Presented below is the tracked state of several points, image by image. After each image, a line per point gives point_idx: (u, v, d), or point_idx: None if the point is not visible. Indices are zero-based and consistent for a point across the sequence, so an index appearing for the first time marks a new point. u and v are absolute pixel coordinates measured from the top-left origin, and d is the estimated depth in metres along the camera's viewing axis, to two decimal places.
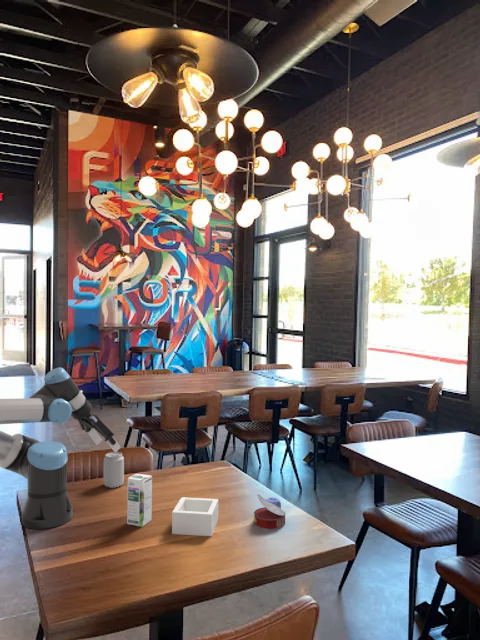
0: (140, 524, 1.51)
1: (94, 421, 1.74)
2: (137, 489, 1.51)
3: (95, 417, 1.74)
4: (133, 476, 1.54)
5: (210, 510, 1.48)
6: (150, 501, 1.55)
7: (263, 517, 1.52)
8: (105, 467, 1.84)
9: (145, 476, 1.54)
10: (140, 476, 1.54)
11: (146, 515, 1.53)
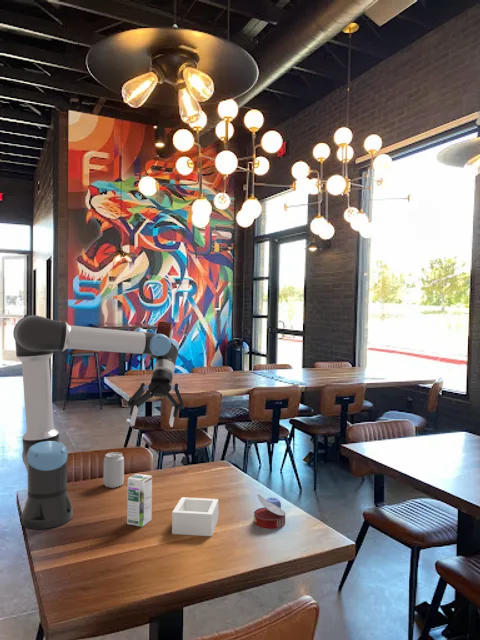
0: (140, 524, 1.51)
1: (178, 387, 1.76)
2: (137, 489, 1.51)
3: (178, 387, 1.78)
4: (133, 476, 1.54)
5: (210, 510, 1.48)
6: (150, 501, 1.55)
7: (263, 517, 1.52)
8: (105, 467, 1.84)
9: (145, 476, 1.54)
10: (140, 476, 1.54)
11: (146, 515, 1.53)
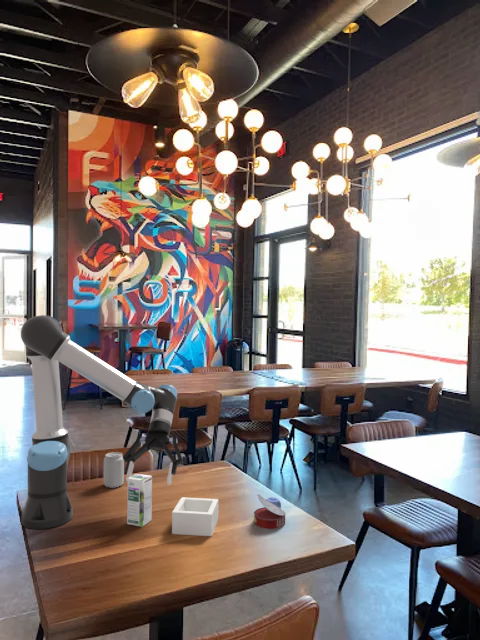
0: (140, 524, 1.51)
1: (176, 440, 1.67)
2: (137, 489, 1.51)
3: None
4: (133, 476, 1.54)
5: (210, 510, 1.48)
6: (150, 501, 1.55)
7: (263, 517, 1.52)
8: (105, 467, 1.84)
9: (145, 476, 1.54)
10: (140, 476, 1.54)
11: (146, 515, 1.53)
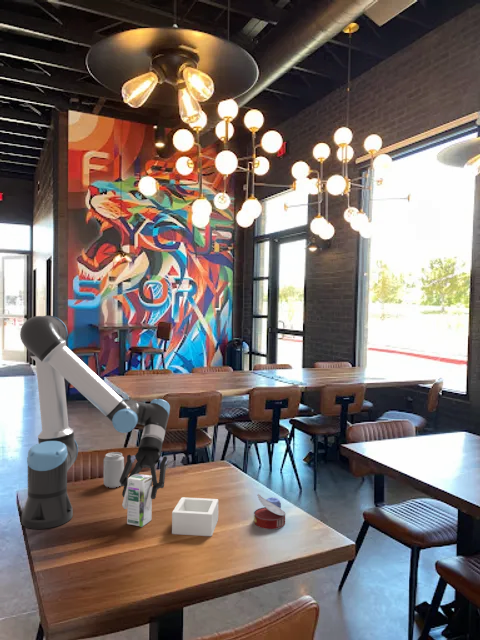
0: (140, 524, 1.51)
1: (166, 461, 1.60)
2: (137, 489, 1.51)
3: (167, 460, 1.62)
4: (133, 476, 1.54)
5: (210, 510, 1.48)
6: None
7: (263, 517, 1.52)
8: (105, 467, 1.84)
9: (145, 476, 1.54)
10: (140, 476, 1.54)
11: (146, 515, 1.52)
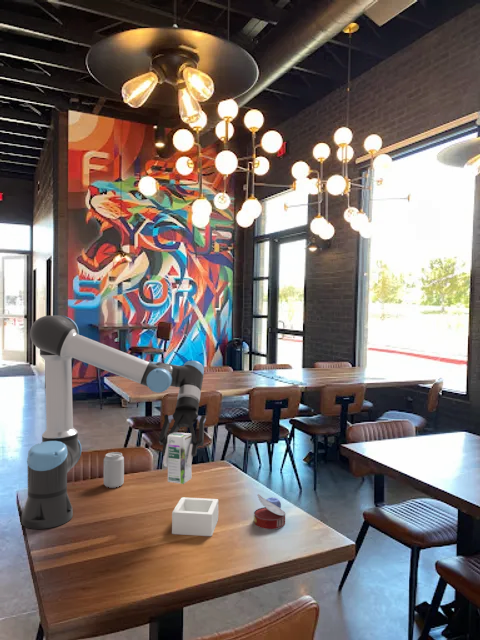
0: (181, 481, 1.49)
1: (204, 420, 1.59)
2: (177, 446, 1.50)
3: (205, 419, 1.60)
4: (173, 434, 1.52)
5: (210, 510, 1.48)
6: None
7: (263, 517, 1.52)
8: (105, 467, 1.84)
9: (185, 434, 1.53)
10: (180, 434, 1.52)
11: (186, 472, 1.51)
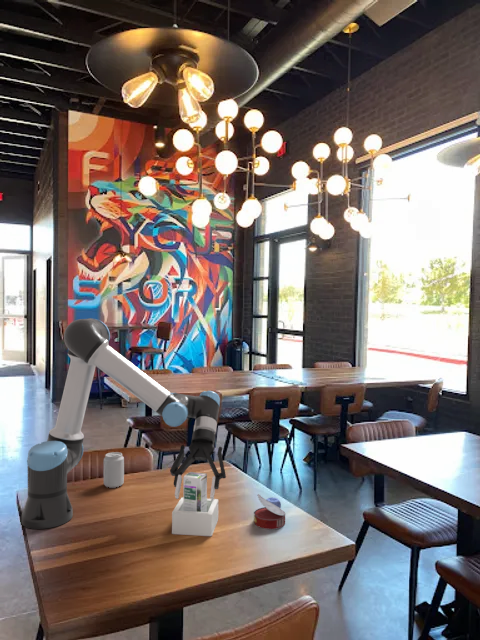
0: None
1: (221, 451, 1.58)
2: (194, 487, 1.49)
3: (222, 451, 1.59)
4: (188, 474, 1.51)
5: (210, 510, 1.48)
6: (205, 499, 1.52)
7: (263, 517, 1.52)
8: (105, 467, 1.84)
9: (200, 474, 1.52)
10: (195, 474, 1.52)
11: None
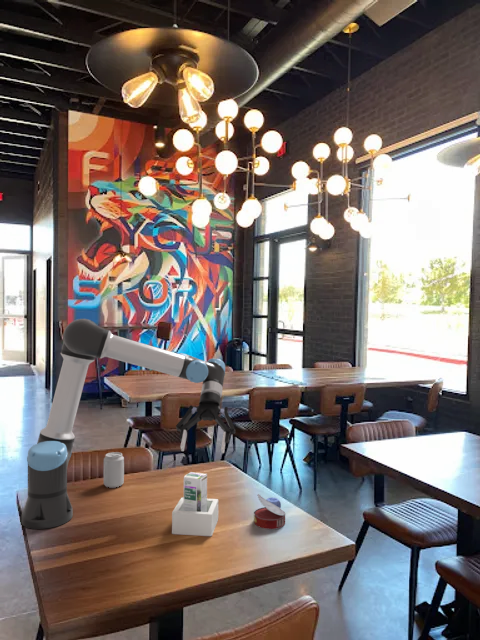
0: None
1: (227, 411, 1.71)
2: (194, 488, 1.49)
3: None
4: (189, 474, 1.51)
5: (210, 510, 1.48)
6: (206, 500, 1.52)
7: (263, 517, 1.52)
8: (105, 467, 1.84)
9: (201, 474, 1.52)
10: (196, 474, 1.51)
11: None
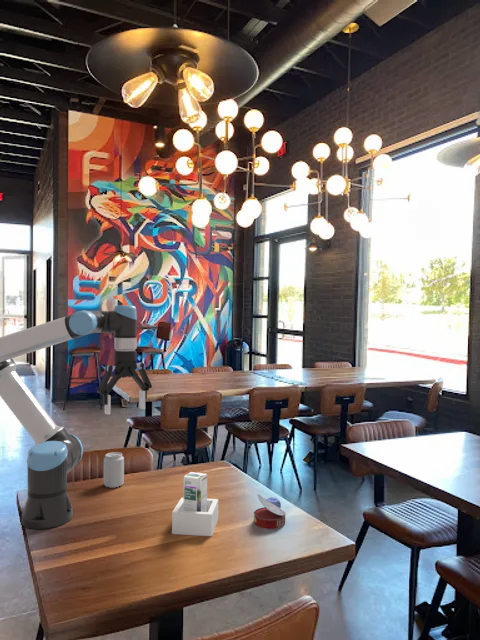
0: None
1: None
2: (194, 488, 1.49)
3: None
4: (189, 474, 1.51)
5: (210, 510, 1.48)
6: (206, 500, 1.52)
7: (263, 517, 1.52)
8: (105, 467, 1.84)
9: (201, 474, 1.52)
10: (196, 474, 1.51)
11: None
